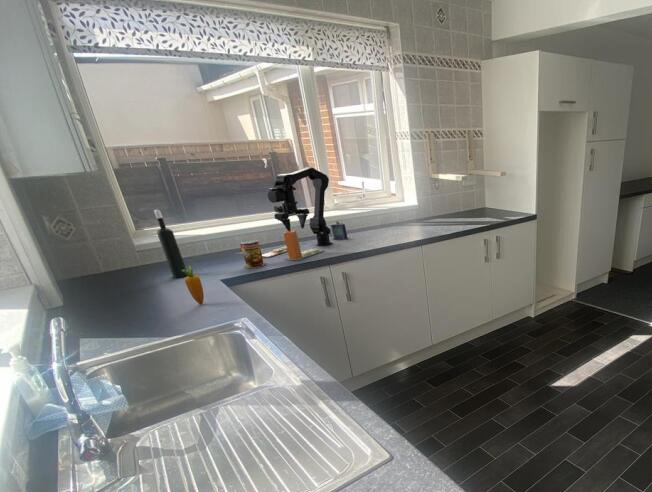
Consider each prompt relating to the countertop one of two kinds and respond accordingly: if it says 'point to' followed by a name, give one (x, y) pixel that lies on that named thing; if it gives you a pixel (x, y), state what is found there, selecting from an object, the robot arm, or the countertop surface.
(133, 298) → the countertop surface
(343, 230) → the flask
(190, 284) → the carrot
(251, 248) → the canned food
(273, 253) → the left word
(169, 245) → the wine bottle
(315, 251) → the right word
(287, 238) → the orange rectangular block
